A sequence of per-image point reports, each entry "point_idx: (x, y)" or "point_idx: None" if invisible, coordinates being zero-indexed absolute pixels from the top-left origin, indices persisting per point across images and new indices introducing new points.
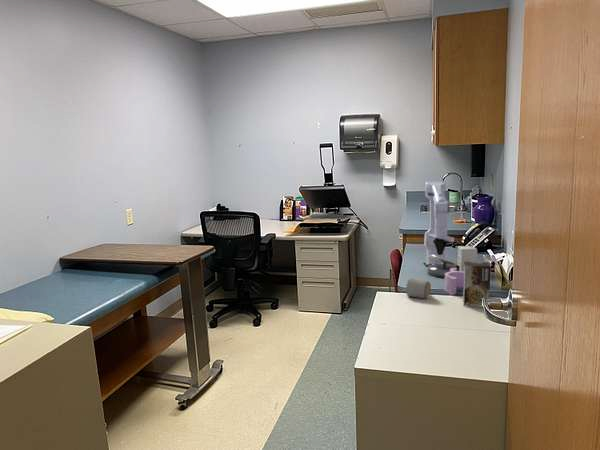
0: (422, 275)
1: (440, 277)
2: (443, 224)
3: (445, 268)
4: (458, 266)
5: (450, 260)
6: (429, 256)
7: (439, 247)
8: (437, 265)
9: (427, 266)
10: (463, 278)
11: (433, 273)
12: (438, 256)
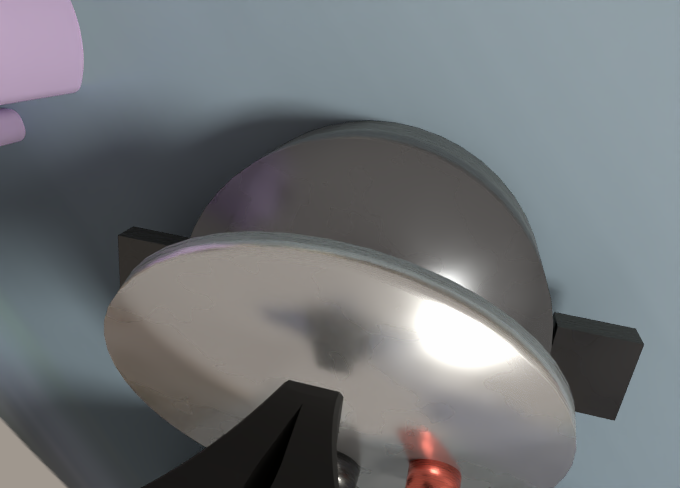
0: (517, 66)
1: (285, 143)
2: None
3: None
4: None
5: (105, 321)
6: (514, 327)
7: (197, 476)
8: None
9: (591, 323)
10: None
11: (363, 127)
12: (223, 255)
